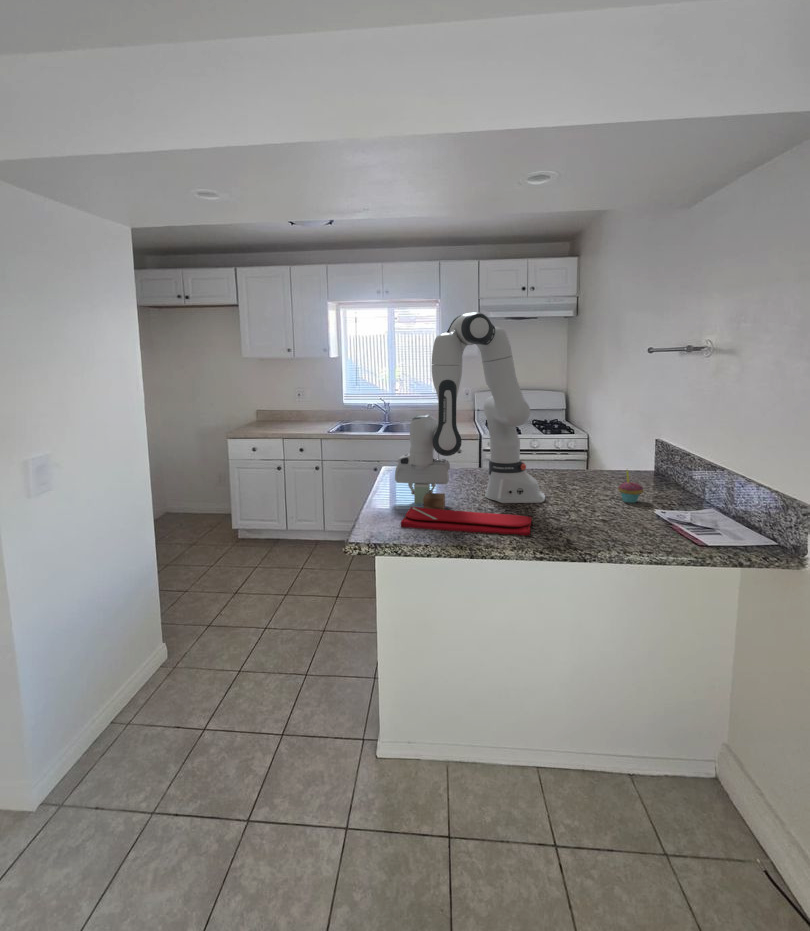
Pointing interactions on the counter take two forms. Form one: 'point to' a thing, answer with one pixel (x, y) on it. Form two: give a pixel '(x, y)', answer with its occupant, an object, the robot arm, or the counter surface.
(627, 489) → the cupcake
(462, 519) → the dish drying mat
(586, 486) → the counter surface
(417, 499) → the sage tin
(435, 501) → the walnut block
